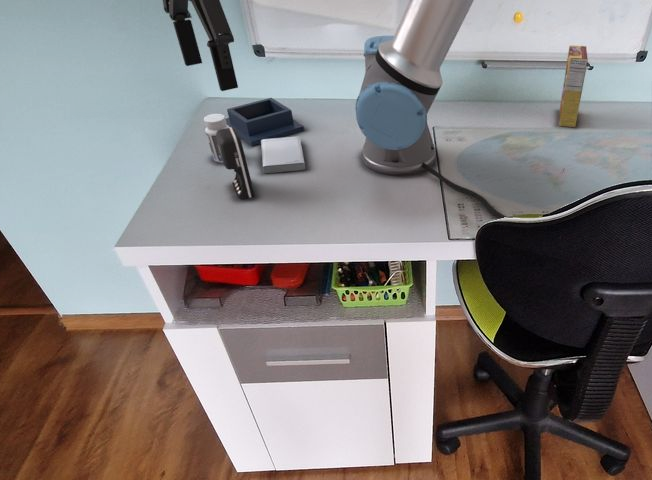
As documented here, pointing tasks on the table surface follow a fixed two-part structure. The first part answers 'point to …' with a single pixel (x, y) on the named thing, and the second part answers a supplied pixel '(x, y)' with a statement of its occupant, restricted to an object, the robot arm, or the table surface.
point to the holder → (262, 121)
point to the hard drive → (282, 154)
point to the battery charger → (235, 161)
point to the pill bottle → (214, 132)
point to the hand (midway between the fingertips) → (210, 76)
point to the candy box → (573, 85)
